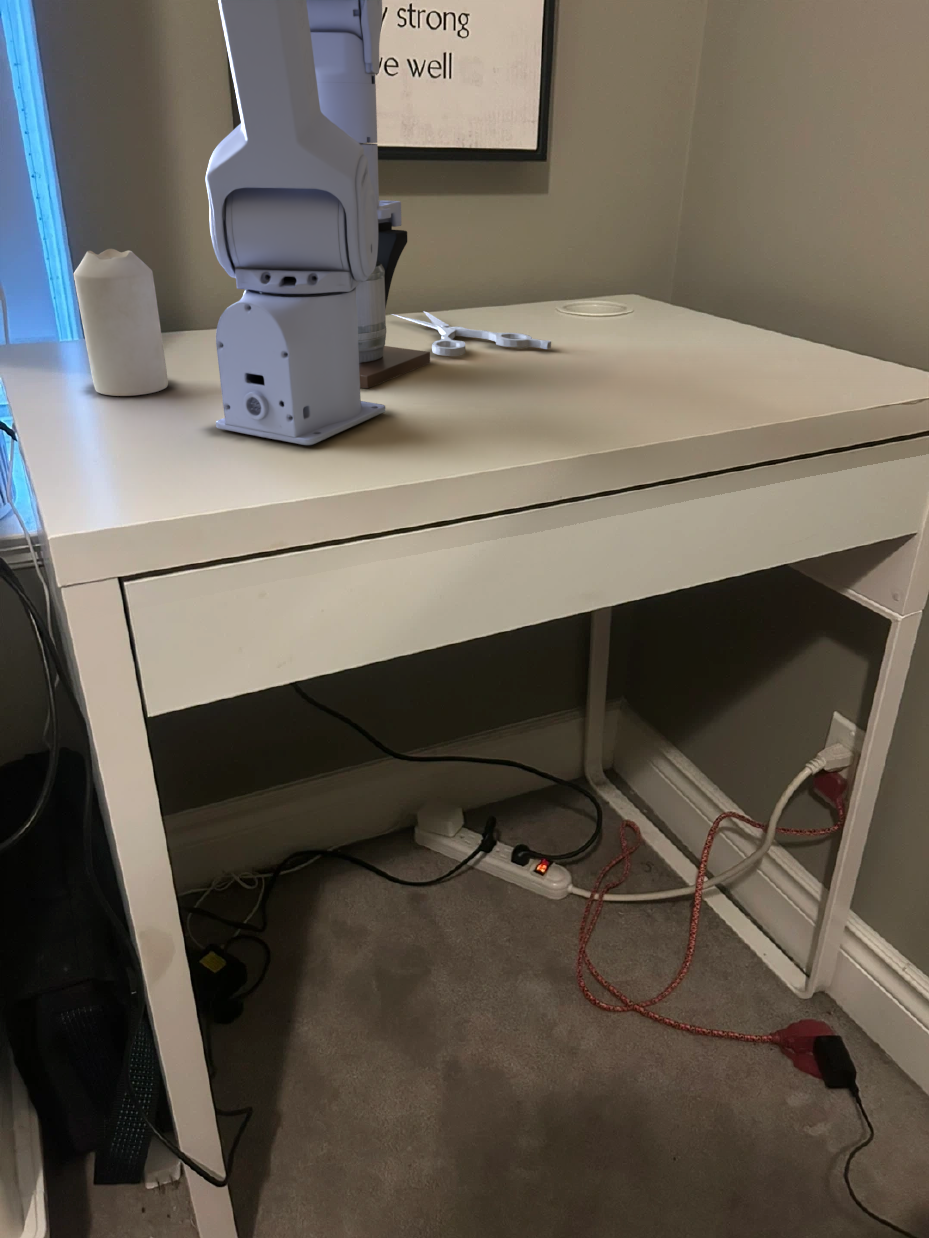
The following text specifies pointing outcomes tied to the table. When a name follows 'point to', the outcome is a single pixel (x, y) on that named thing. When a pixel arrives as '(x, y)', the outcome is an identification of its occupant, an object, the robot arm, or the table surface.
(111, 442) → the table surface
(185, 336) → the table surface
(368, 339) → the camera lens
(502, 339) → the scissors
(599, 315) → the table surface
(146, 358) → the candle
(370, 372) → the walnut board
